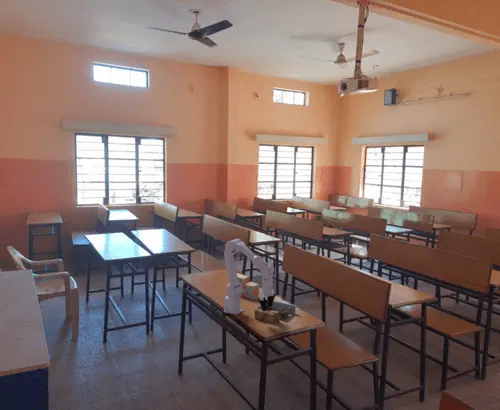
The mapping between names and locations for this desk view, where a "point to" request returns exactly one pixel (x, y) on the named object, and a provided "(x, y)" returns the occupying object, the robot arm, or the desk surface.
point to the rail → (267, 315)
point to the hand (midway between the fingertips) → (267, 308)
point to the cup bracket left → (266, 307)
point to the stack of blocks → (248, 287)
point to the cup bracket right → (284, 313)
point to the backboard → (283, 306)
